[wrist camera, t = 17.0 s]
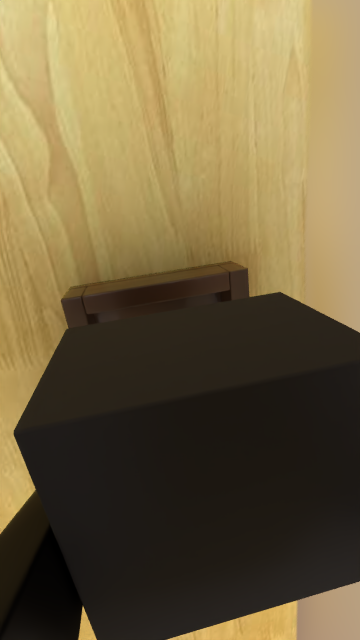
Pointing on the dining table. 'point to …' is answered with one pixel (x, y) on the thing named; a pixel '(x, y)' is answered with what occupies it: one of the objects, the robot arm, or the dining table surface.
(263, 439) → the pad charcoal
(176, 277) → the dark wooden tray
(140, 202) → the dining table surface
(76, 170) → the dining table surface
